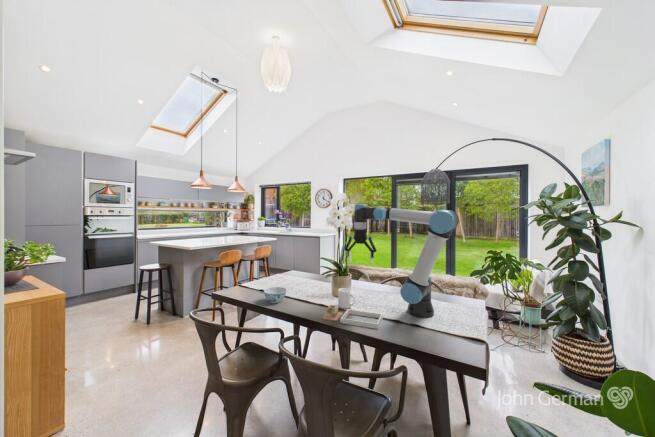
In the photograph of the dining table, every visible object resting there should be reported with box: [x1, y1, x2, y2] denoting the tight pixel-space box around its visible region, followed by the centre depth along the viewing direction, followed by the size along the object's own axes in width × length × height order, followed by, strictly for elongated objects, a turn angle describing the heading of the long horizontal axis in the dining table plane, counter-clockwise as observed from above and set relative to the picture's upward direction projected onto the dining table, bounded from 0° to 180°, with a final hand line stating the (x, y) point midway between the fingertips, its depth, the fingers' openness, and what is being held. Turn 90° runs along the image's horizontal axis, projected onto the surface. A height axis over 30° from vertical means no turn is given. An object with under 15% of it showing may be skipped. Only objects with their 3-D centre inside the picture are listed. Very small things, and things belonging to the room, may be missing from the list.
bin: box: [339, 308, 384, 330], centre depth 153 cm, size 21×15×2 cm
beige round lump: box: [326, 304, 339, 317], centre depth 159 cm, size 5×5×5 cm
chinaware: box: [263, 286, 287, 304], centre depth 183 cm, size 15×15×8 cm
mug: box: [337, 287, 356, 309], centre depth 173 cm, size 9×12×11 cm
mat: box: [321, 311, 344, 322], centre depth 159 cm, size 9×12×1 cm
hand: (360, 262), depth 171 cm, fingers open, 13 cm apart
